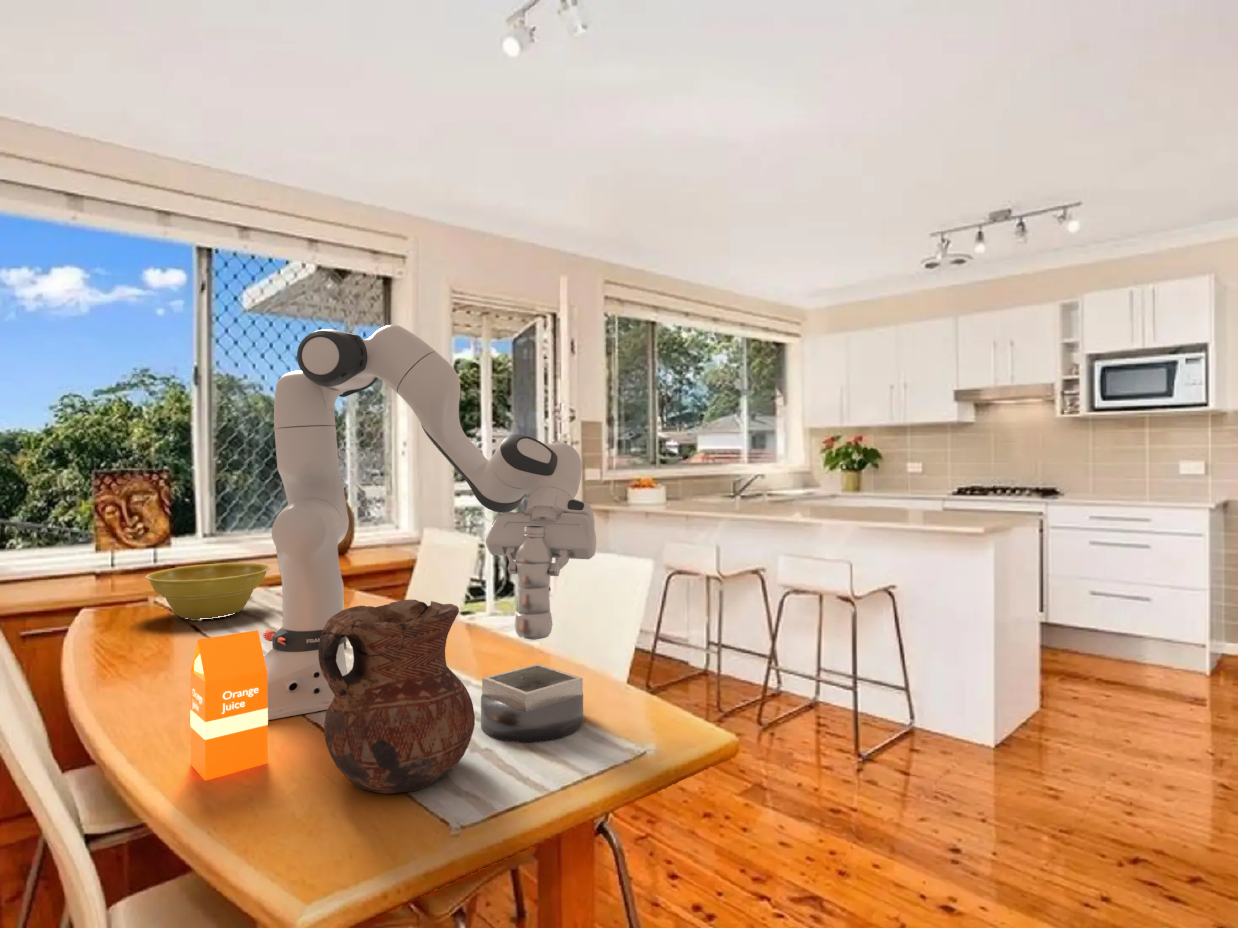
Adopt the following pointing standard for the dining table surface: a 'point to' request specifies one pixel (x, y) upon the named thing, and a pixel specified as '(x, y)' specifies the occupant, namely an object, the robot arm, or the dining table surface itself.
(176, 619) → the dining table surface
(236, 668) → the orange juice
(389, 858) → the dining table surface
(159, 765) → the dining table surface
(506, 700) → the disc with square tube
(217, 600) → the planter bowl
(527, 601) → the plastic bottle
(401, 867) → the dining table surface
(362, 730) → the jug
